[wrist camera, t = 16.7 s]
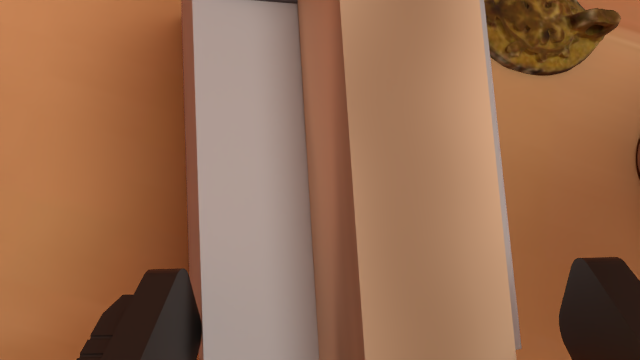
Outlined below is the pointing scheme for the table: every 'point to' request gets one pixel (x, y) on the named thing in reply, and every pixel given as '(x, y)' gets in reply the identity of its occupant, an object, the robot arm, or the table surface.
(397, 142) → the stamp
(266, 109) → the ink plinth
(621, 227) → the table surface
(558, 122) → the table surface
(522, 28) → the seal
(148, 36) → the table surface
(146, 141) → the table surface
